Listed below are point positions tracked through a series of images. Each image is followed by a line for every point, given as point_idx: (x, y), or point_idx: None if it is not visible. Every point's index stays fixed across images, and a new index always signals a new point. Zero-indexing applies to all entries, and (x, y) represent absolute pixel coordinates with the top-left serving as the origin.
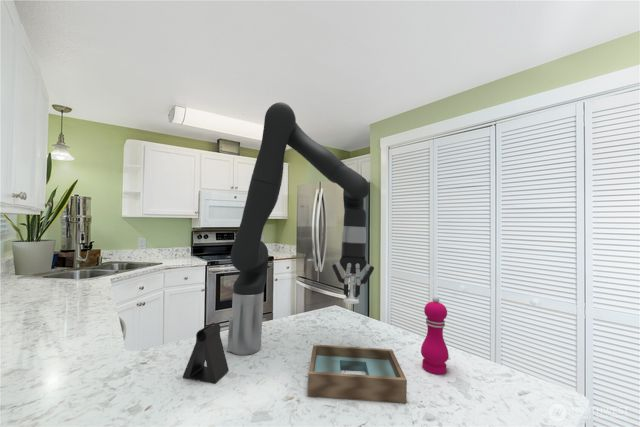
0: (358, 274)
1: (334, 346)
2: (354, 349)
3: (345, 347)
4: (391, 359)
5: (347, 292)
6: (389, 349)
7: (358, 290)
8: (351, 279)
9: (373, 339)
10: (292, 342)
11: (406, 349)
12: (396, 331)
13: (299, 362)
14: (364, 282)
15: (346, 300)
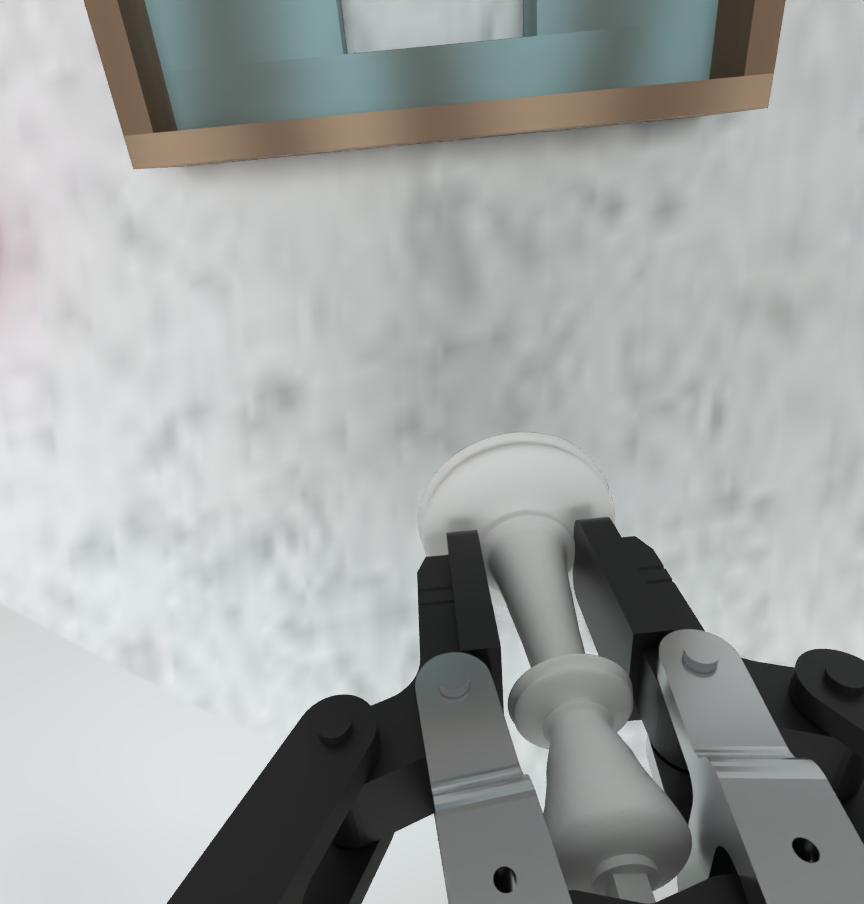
0: (491, 866)
1: (597, 106)
2: (433, 108)
3: (507, 109)
4: (131, 17)
5: (605, 550)
6: (153, 160)
7: (441, 604)
8: (615, 749)
9: (317, 538)
10: (808, 383)
11: (113, 454)
12: (192, 667)
13: (786, 97)
14: (335, 710)
15: (586, 464)
